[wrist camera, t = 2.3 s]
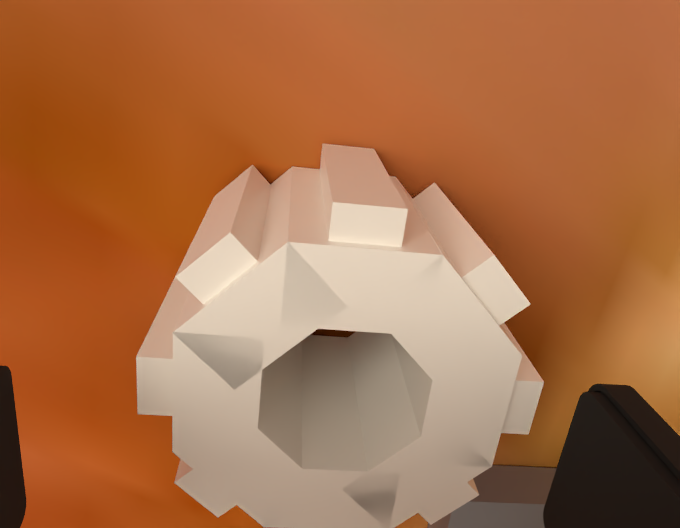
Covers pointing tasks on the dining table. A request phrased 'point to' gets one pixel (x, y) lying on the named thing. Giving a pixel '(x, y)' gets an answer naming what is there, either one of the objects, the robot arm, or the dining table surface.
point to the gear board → (504, 499)
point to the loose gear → (336, 351)
